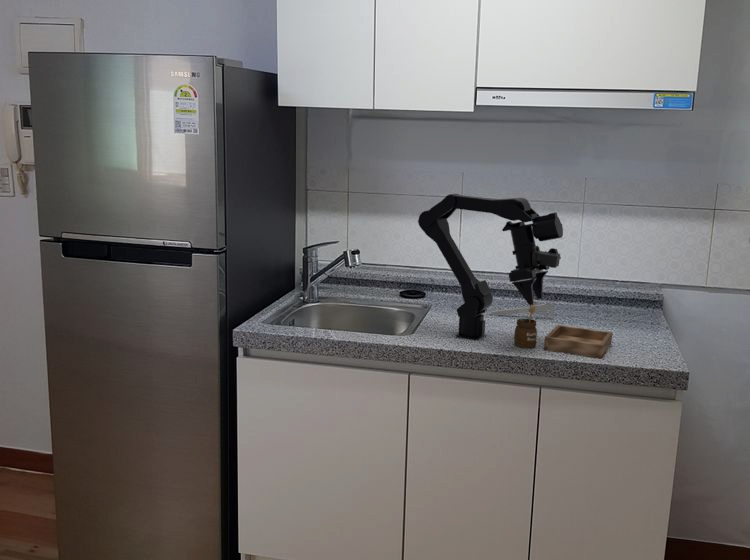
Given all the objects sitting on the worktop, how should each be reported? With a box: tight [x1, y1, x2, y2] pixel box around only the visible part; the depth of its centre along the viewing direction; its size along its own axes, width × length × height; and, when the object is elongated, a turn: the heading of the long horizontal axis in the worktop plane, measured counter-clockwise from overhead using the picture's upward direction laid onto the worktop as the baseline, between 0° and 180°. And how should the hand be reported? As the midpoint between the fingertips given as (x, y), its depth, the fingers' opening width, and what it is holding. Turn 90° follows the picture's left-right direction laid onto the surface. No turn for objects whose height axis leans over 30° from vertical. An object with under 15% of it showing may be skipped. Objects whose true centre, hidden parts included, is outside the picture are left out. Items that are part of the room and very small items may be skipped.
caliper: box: [487, 300, 555, 320], centre depth 230 cm, size 20×1×6 cm, turn 79°
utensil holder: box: [513, 300, 538, 349], centre depth 197 cm, size 6×6×12 cm
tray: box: [543, 324, 613, 359], centre depth 198 cm, size 15×15×4 cm
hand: (535, 301), depth 195 cm, fingers open, 9 cm apart
